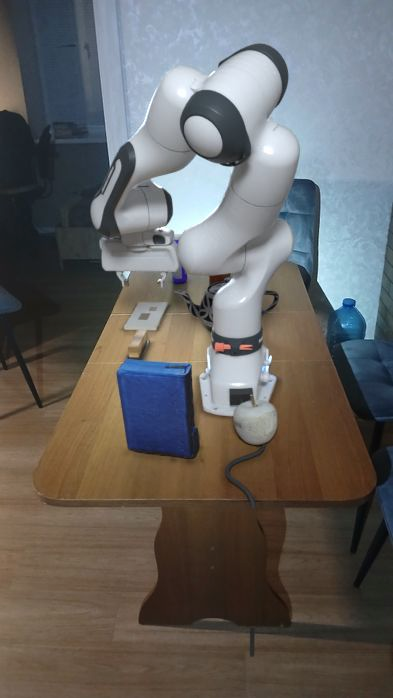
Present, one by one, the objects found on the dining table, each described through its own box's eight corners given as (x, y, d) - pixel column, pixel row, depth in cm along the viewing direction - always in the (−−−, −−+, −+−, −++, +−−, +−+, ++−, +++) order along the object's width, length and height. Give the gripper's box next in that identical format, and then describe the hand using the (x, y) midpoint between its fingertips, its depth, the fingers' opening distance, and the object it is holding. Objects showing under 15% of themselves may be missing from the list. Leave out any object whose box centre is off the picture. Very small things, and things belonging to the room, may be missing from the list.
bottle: (171, 278, 193) (168, 233, 185) (186, 277, 193) (184, 232, 185) (173, 284, 186) (169, 238, 178) (188, 283, 187) (185, 237, 179)
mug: (212, 301, 170) (211, 272, 165) (204, 293, 177) (203, 265, 172) (245, 296, 173) (245, 267, 168) (235, 288, 180) (235, 260, 176)
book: (201, 447, 101) (197, 359, 91) (195, 464, 96) (190, 373, 87) (134, 438, 104) (123, 353, 95) (125, 455, 99) (112, 367, 90)
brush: (141, 361, 134) (140, 347, 132) (127, 361, 134) (125, 347, 133) (150, 343, 144) (149, 329, 142) (136, 342, 144) (135, 329, 142)
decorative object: (266, 458, 97) (267, 415, 92) (226, 445, 101) (225, 403, 96) (283, 433, 103) (285, 392, 99) (245, 422, 107) (245, 382, 103)
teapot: (177, 315, 160) (174, 270, 153) (273, 311, 160) (274, 265, 153) (175, 342, 143) (172, 292, 136) (283, 337, 143) (285, 287, 136)
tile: (156, 330, 151) (156, 327, 151) (124, 329, 152) (123, 326, 152) (168, 305, 169) (168, 302, 168) (139, 304, 170) (139, 301, 170)
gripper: (94, 237, 124) (101, 290, 131) (175, 238, 121) (179, 291, 128) (102, 231, 130) (108, 281, 136) (180, 230, 127) (183, 282, 133)
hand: (143, 286), depth 132 cm, fingers open, 8 cm apart
